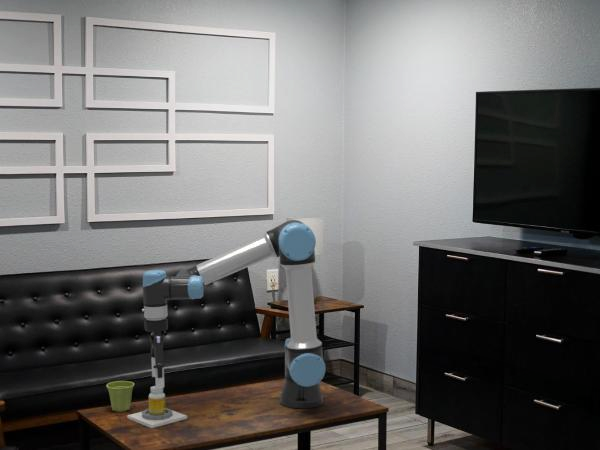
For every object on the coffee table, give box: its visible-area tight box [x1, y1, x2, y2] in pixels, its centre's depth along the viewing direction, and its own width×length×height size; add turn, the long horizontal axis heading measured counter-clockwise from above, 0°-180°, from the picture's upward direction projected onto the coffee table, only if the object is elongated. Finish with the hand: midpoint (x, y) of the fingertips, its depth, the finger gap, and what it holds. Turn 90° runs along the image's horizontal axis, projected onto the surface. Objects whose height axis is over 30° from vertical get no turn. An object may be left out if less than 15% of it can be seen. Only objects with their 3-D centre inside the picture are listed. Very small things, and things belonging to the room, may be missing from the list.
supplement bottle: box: [148, 385, 166, 416], centre depth 292 cm, size 5×5×10 cm
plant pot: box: [106, 380, 135, 413], centre depth 302 cm, size 9×9×9 cm
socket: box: [126, 407, 188, 429], centre depth 292 cm, size 14×14×2 cm
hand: (158, 381), depth 291 cm, fingers open, 13 cm apart
